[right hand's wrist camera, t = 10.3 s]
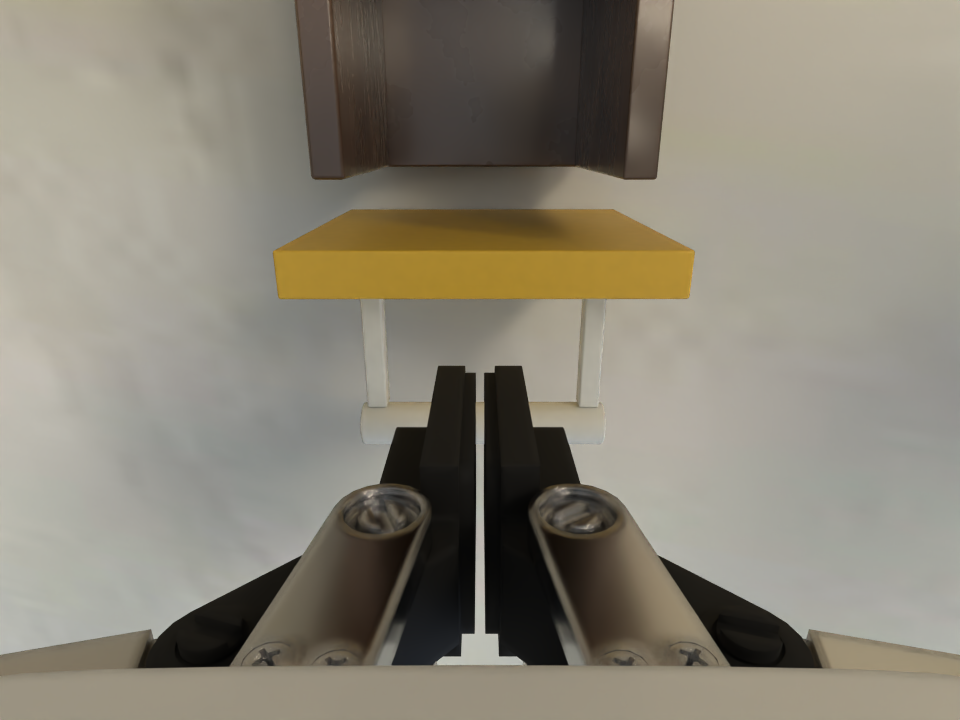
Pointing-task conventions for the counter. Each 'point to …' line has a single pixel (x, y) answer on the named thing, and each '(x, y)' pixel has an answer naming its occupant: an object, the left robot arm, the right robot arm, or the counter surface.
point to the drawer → (484, 143)
